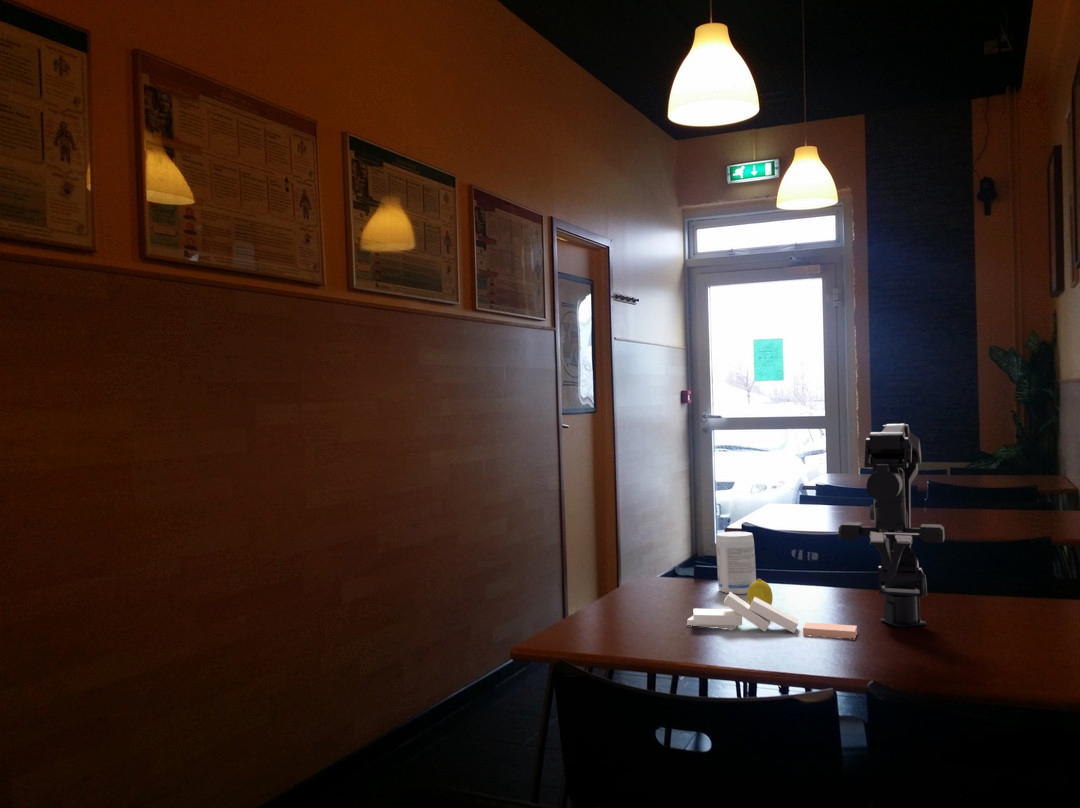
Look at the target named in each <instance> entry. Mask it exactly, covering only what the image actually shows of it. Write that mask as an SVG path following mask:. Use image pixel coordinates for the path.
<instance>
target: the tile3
mask: <svg viewBox="0 0 1080 808" xmlns="http://www.w3.org/2000/svg"><path fill="white" fill-rule="evenodd" d="M723 604H724V605H725V606H726V607H728V608H729V609H732V610H734V611H735V612H737V613H738V614H740V615H741V616H742V618H744V619H745V620H746V621H749V622H750V623H752V624H753V625H754V626H756V627H757V628H758V629H760V630H762V631H763V632H766V631H767V630H768V628H769V626H770V625H771V621H770V620H768V619H766V618H765V617H763V616H761V615H759V614H757V613H755V612H753V611H751V610H750V609H749V607H750V605H749V603H748V602H746V601H745V600H743V599H742V598H740V597H739V596H738V595H737V594H733V593H732V592H729V594H727V595H726V596H725V598H724V600H723Z"/></svg>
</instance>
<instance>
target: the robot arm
mask: <svg viewBox="0 0 1080 808" xmlns="http://www.w3.org/2000/svg"><path fill="white" fill-rule="evenodd" d="M909 426H910V425H909V424H906V423H903V422H902V423H886V424H883V425H882V431H871V432H870V433H869V435H868V437H866V438H865V448H864V449H865V450H864V463H863V464H864V466H863V467H864V468H865V469H867V468H869V469H872V474H871V475H869V477H868V478H867V481H866V491H867V492H868V495H870V497H871V498H872V499H873V505H872V504H871V505H870V506H869V507H870V508H869V520H870V521H871V523H874V526H864V524H863V522H860V521H858V522H857V521H854V522H853V521H844V522H843V523H842V524H840V526H839V527H838V531H837V532H838V539H839V540H846V541H847V540H848V541H849V540H850V541H856V540H857V539H858V538H859V537H860V536H861V537H862V536H863V537H869V538H870V541H869V545H870V546H871V545H872V546H875V547H876V549H877V551H878V553H879V555H880V557H881V563H880V564H881V565H878V568H877V569H878V572H877V577H878V588H879V589H878V590H879V595H884V601H883V616H884V618H880V622H882V623H885V624H889V625H891V626H894V627H898V628H908V627H907V626H910V627H917V625H918V626H922V625H923V626H924V625H927V623H926V621H924V620H921V605H920V603H921V602H920V598H923V597H927V596H928V589H927V588H928V587H927V586H928V585H927V577H926V574H925V573H924V571H923V568H922V567H920V566H919V565H920V563H919V560H918V557H917V556H916V554H915V552H914V551H913V550H912V544H913V538H915V539H916V538H918V539H921V540H922V541H923V542H924V543H931V544H932V543H933V544H935V543H937V544H940V543H945V542H944V541H945V527H944V526H943V524H939V523H938V524H935V523H933V524H932V523H927V524H926V523H922V524H920V526H919V527H912V524H911V522H912V521H911V517H912V516H911V512H912V511H911V506H912V505H911V504H912V503H911V485H912V482H913V481H914V480H915V478H916V477H917V475H918V473H919V465H921V463H922V450H921V442H920V438H919V437H917V436H916V435H915V434H914V433H913V432H911V431H910V427H909ZM887 537H888V538H887Z"/></svg>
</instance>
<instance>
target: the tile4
mask: <svg viewBox="0 0 1080 808" xmlns="http://www.w3.org/2000/svg"><path fill="white" fill-rule="evenodd" d="M692 610H693V612H692V613H693V614H692V616H693V619H694V624H704V625H738V626H743V616H741V615H740V614H738V613H737V612H735V611H734V610H732V609H731V608H693V609H692Z"/></svg>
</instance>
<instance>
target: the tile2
mask: <svg viewBox="0 0 1080 808" xmlns="http://www.w3.org/2000/svg"><path fill="white" fill-rule="evenodd" d="M749 609H750V610H751V611H753V612H755V613H757V614H759V615H761V616H763V617H765V618H766V619H768V620H770V622H772V623H774V624H777V626H780V627H782V628H784V629H785V630H787V631H789V632H791V633H793V634H794V633H795V632H796V630H797V628H798V626H799V621H800V619H798V618H797V617H794V616H793V615H791V614H789V613H788V612H785V611H783V610H781V609H779V608H777V607H775V606H774V605H772V604H771V605H770V604H768V603H766V602H764V601H762V600H760V599H758V598H756V597H754V599H753V601H752V603H751V605H750V607H749Z"/></svg>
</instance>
